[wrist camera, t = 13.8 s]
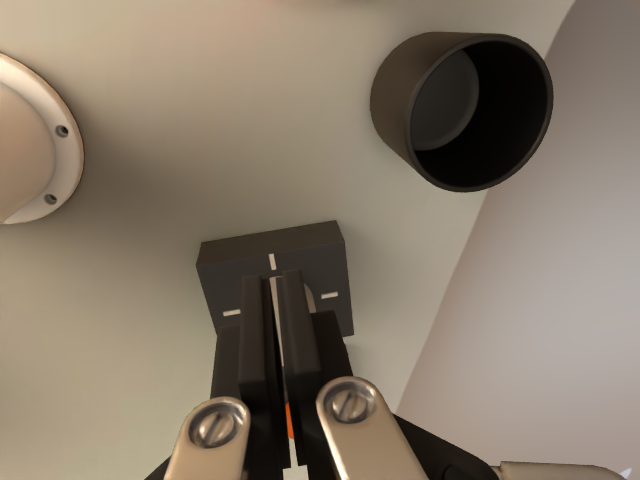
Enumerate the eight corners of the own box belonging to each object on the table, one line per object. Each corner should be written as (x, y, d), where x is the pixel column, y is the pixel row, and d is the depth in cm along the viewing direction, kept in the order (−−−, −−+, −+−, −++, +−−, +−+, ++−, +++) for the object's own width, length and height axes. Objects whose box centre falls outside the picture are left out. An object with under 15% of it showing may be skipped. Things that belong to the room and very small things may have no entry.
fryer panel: (226, 330, 41) (223, 360, 37) (201, 242, 36) (194, 266, 32) (346, 309, 42) (354, 336, 38) (336, 219, 37) (345, 241, 33)
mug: (488, 165, 36) (553, 204, 29) (357, 148, 34) (388, 185, 26) (529, 49, 32) (618, 56, 24) (384, 20, 30) (429, 18, 22)
